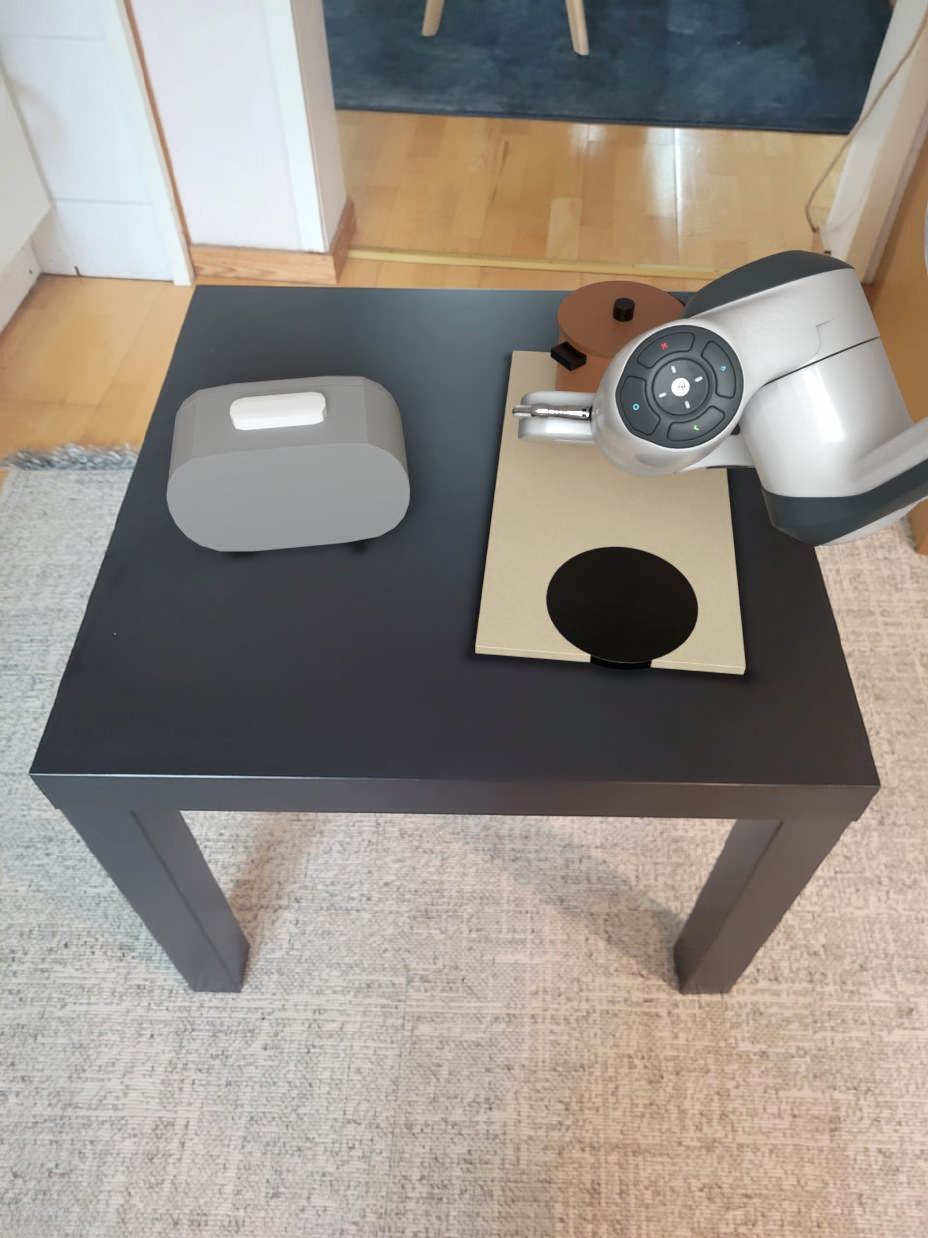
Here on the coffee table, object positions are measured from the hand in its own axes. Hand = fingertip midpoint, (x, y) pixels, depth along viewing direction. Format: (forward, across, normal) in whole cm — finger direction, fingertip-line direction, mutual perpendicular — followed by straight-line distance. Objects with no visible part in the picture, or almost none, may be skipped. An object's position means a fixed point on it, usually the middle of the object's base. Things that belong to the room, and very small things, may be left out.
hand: (634, 433), depth 83 cm
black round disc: (-4, 0, -15) cm, 16 cm away
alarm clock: (+2, -30, -10) cm, 32 cm away
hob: (+7, -1, -5) cm, 9 cm away
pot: (+16, -1, +5) cm, 17 cm away
